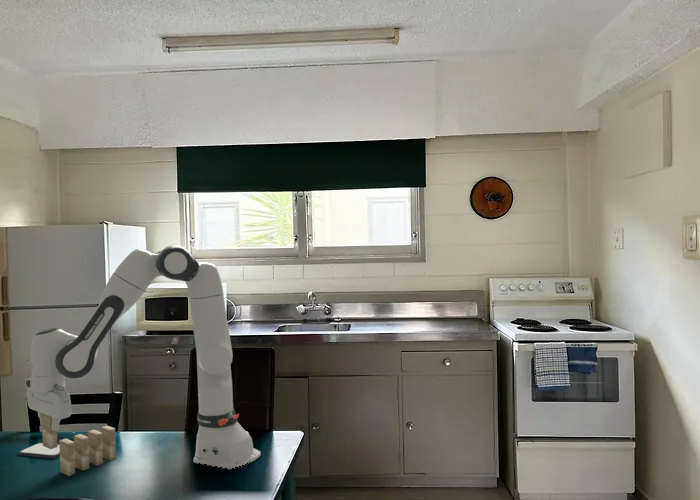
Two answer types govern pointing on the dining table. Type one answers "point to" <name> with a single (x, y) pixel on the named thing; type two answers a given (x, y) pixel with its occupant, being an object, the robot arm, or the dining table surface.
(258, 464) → the dining table surface
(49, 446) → the tile
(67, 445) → the tile
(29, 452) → the smartphone
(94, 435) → the light brown wooden block
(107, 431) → the tan rectangular block
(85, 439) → the tile
